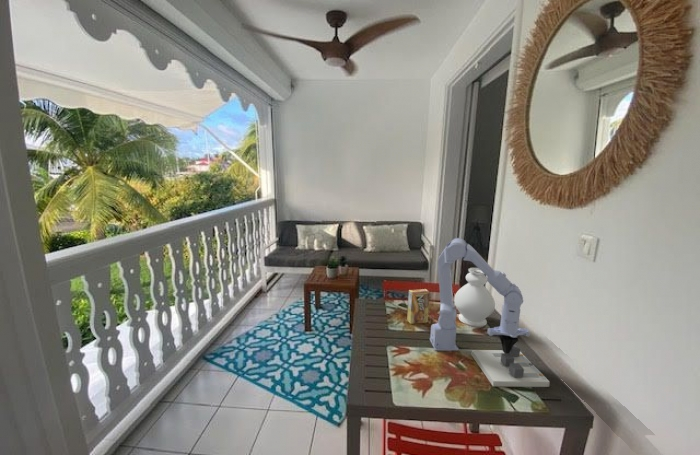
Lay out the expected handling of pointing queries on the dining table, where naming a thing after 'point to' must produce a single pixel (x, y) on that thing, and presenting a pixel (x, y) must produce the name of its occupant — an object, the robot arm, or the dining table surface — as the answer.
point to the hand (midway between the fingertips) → (505, 352)
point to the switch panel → (501, 374)
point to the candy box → (418, 306)
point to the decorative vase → (474, 299)
